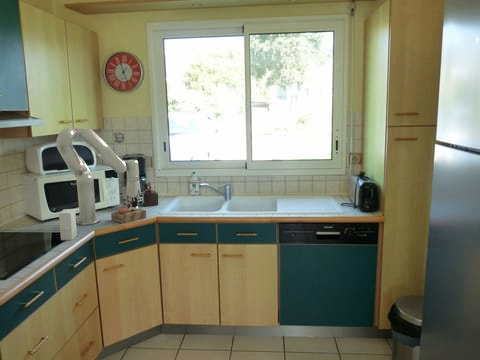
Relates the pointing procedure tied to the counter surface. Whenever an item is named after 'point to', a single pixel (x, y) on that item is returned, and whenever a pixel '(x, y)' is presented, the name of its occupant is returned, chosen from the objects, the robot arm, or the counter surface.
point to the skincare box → (68, 224)
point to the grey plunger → (134, 208)
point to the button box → (128, 216)
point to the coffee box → (126, 198)
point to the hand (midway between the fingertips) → (135, 206)
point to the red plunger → (122, 210)
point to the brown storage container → (149, 196)
